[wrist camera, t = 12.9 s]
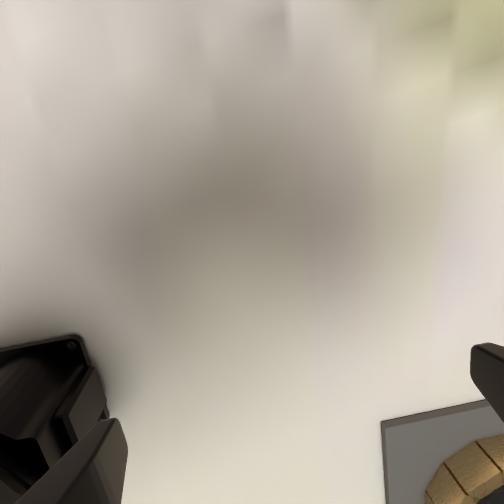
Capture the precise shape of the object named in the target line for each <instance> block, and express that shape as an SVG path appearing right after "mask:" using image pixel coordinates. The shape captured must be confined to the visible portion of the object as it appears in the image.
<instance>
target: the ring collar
mask: <svg viewBox="0 0 504 504" xmlns="http://www.w3.org/2000/svg"><path fill="white" fill-rule="evenodd" d="M444 462H445V463H446V464H445V463H442V464H441V465H440V467H439V468H438V470H437V472H436V473H435V475H434V476H433V478H432V480H431V481H430V483H429V484H428V486H427V487H426V491H425V504H476V503H477V502H478V501H479V500H480V499H482V498H484V497H485V496H487V495H488V494H490V493H491V492H493V491H494V490H496V489H497V488H499V487H500V486H502V485H504V434H501V435H496V436H492V437H487V438H483V439H478V440H476V443H475V442H474V441H473V442H471V443H470V444H468V445H467V446H465V447H464V448H462V449H461V450H459V451H458V452H456V453H455V454H453V455H452V456H450V457H449V458H448V459H446V460H445V461H444Z"/></svg>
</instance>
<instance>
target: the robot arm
mask: <svg viewBox="0 0 504 504" xmlns="http://www.w3.org/2000/svg"><path fill="white" fill-rule="evenodd" d="M70 342H73V343H75V344H76V346H72V345H71V344H70ZM470 375H471V378H472V380H473V382H474V384H475V385H476V386H477V388H478V389H479V390H480V392H481V393H482V395H483V396H484V397H485V399H486V400H487V401H488V403H489V404H490V405H491V407H492V408H493V409H494V411H495V412H496V414H497V415H498V416H499V418H500V419H501V420H502V422H503V423H504V347H503V346H500V345H497V344H493V343H482V344H477V345H474V346H473V347H472V348H471V359H470ZM105 404H106V397H105V394H104V391H103V388H102V386H101V383H100V380H99V377H98V374H97V371H96V369H95V368H94V367H93V366H92V365H91V363H90V360H89V357H88V354H87V351H86V348H85V346H84V343H83V340H82V339H81V338H80V337H79V336H77V335H69V336H64V337H58V338H53V339H48V340H43V341H37V342H32V343H27V344H22V345H17V346H11V347H6V348H1V349H0V504H121V499H122V492H123V485H124V477H125V470H126V463H127V455H128V446H127V442H126V439H125V436H124V433H123V430H122V427H121V424H120V422H119V420H118V419H117V418H110V419H109V413H108V411H107V408H106V405H105ZM99 418H100V419H102V420H99Z"/></svg>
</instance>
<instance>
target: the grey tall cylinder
mask: <svg viewBox="0 0 504 504" xmlns="http://www.w3.org/2000/svg"><path fill="white" fill-rule="evenodd" d="M476 504H504V485H502V486H500V487H499V488H497V489H496V490H494V491H493V492H491V493H490V494H488V495H487V496H485V497H484V498H482V499H480V500H479V501H478V502H477V503H476Z"/></svg>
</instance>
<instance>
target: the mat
mask: <svg viewBox="0 0 504 504" xmlns="http://www.w3.org/2000/svg"><path fill="white" fill-rule="evenodd" d="M381 429H382V445H383V460H384V476H385V492H386V504H425V491H426V487H427V486H428V484H429V483H430V481H431V480H432V478H433V476H434V475H435V473H436V472H437V470H438V468H439V467H440V465H441V464H442V463H445V462H444V461H445V460H446V459H448V458H449V457H450V456H452V455H453V454H455V453H456V452H458V451H459V450H461V449H462V448H464V447H465V446H467V445H468V444H470V443H471V442H473V441H474V442H475V443H476V440H478V439H483V438H487V437H492V436H496V435H501V434H504V423H503V422H502V420H501V419H500V418H499V416H498V415H497V414H496V412H495V411H494V409H493V408H492V407H491V405H490V404H489V403H488V401H487V400H482V401H478V402H473V403H468V404H463V405H459V406H454V407H449V408H444V409H440V410H435V411H430V412H425V413H421V414H416V415H411V416H406V417H402V418H397V419H392V420H388V421H383V422H381ZM445 464H446V463H445Z"/></svg>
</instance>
